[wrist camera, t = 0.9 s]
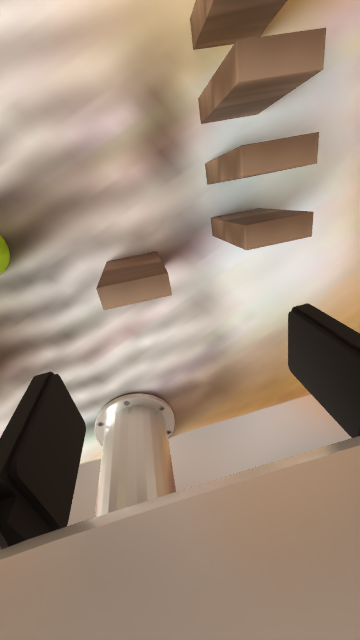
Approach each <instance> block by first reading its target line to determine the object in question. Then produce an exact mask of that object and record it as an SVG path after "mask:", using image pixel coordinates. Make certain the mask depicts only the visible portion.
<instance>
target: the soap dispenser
mask: <svg viewBox="0 0 360 640" xmlns="http://www.w3.org/2000/svg"><path fill="white" fill-rule="evenodd" d="M9 262H10V252H9V248H8V246H7V244H6V242H5V240H4V239H3V238H2V236H1V235H0V274H1V273H3V272H4V271H5V270H6V268H7V267H8V265H9Z"/></svg>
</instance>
